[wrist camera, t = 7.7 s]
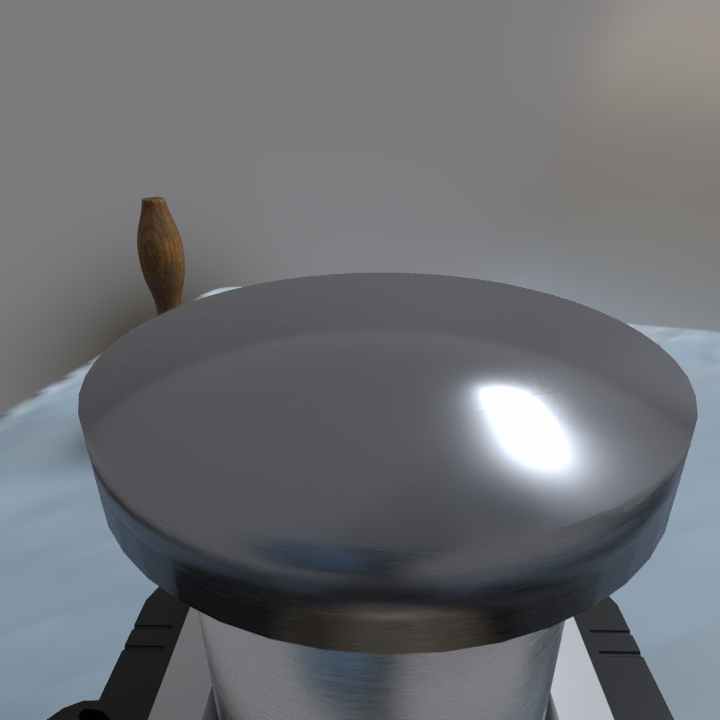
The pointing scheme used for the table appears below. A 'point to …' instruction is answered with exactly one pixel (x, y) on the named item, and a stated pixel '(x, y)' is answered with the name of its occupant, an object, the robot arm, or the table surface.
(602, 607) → the robot arm
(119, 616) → the table surface
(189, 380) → the aluminium plug
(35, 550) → the table surface
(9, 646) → the table surface
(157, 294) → the hand bell
